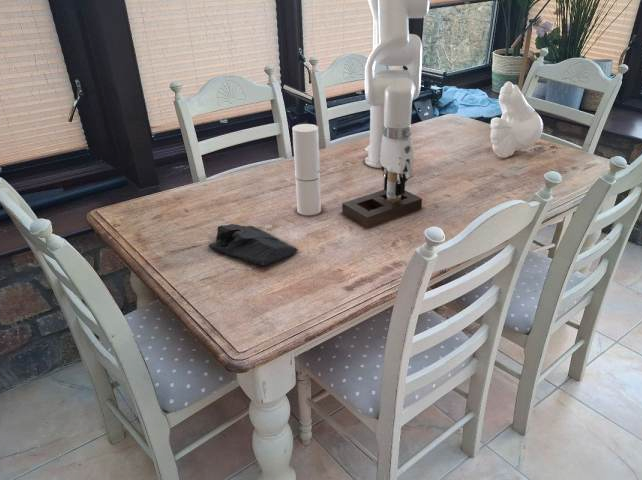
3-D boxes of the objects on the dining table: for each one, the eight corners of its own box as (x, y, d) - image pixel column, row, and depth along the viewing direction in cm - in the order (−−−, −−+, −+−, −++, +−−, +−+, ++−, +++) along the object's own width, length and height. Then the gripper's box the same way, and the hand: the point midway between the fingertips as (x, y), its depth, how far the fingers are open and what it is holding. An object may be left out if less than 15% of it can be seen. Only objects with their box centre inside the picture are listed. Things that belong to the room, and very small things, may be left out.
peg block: (342, 213, 161) (342, 203, 159) (395, 196, 171) (395, 185, 169) (367, 228, 153) (367, 217, 151) (421, 209, 163) (422, 198, 161)
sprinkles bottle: (403, 206, 163) (406, 164, 156) (391, 210, 161) (393, 167, 154) (394, 201, 167) (396, 159, 159) (382, 205, 164) (384, 162, 157)
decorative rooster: (521, 121, 214) (495, 73, 198) (555, 123, 201) (530, 73, 186) (486, 170, 211) (457, 125, 196) (518, 175, 199) (489, 128, 183)
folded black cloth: (258, 275, 132) (257, 259, 129) (204, 247, 144) (201, 231, 141) (303, 252, 142) (302, 236, 139) (248, 226, 154) (246, 211, 151)
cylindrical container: (324, 207, 164) (322, 125, 150) (315, 216, 159) (312, 133, 145) (303, 203, 166) (298, 122, 152) (293, 213, 161) (288, 130, 147)
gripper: (427, 136, 147) (422, 198, 158) (387, 121, 159) (385, 180, 169) (407, 142, 144) (403, 204, 154) (367, 126, 155) (366, 186, 165)
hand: (394, 191), depth 161 cm, fingers closed on sprinkles bottle, 4 cm apart
